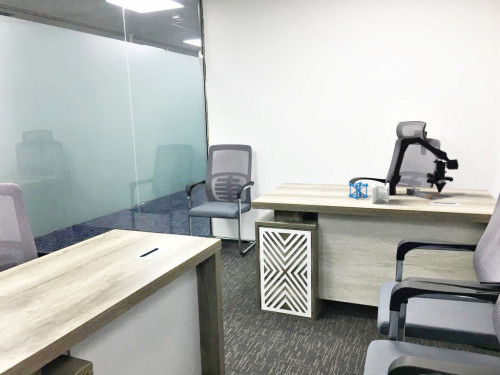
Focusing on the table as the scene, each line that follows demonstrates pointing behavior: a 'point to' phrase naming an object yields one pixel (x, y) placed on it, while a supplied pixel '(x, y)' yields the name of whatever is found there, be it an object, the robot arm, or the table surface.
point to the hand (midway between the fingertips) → (439, 192)
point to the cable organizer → (380, 192)
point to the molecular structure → (358, 190)
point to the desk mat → (436, 197)
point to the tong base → (417, 193)
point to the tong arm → (429, 193)
